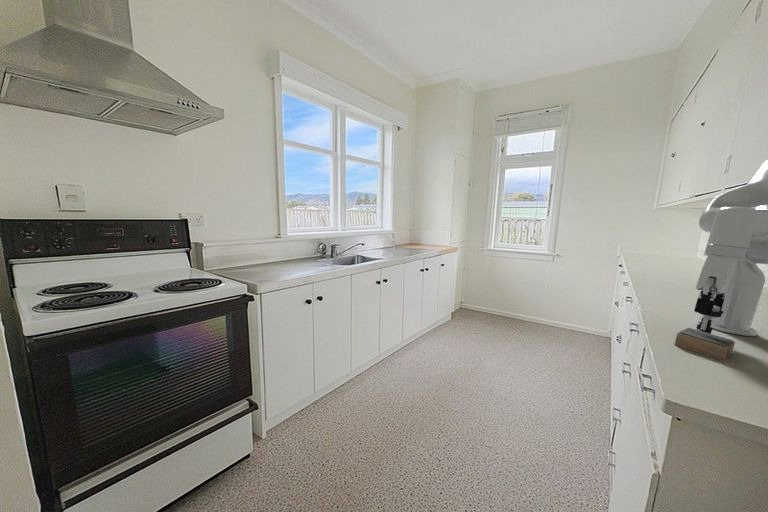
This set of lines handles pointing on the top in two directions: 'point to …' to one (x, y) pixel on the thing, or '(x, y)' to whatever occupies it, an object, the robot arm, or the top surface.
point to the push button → (709, 320)
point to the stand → (705, 343)
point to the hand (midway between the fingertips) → (707, 311)
